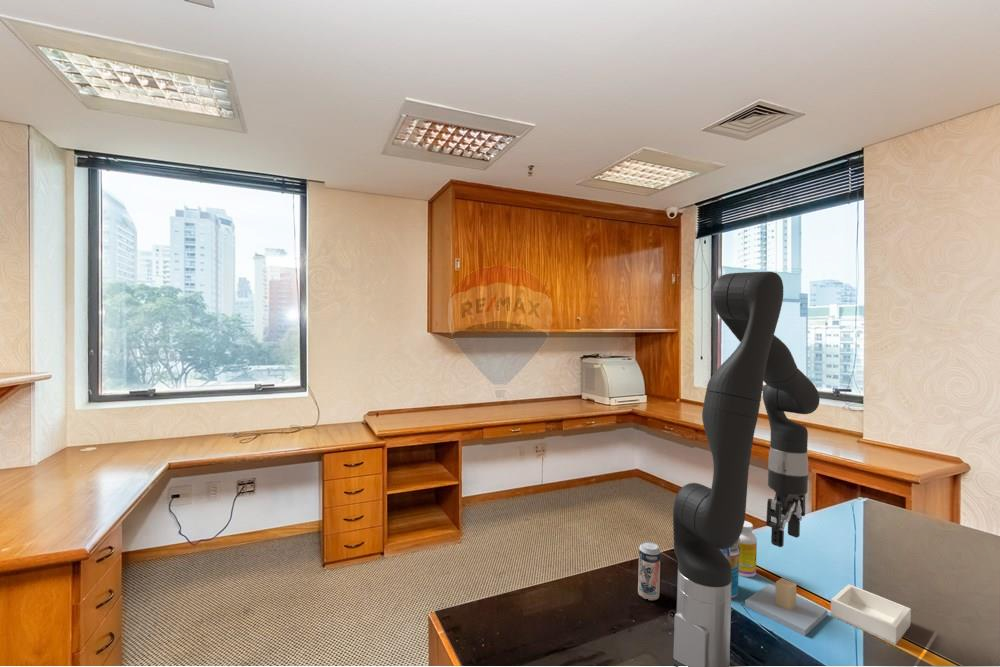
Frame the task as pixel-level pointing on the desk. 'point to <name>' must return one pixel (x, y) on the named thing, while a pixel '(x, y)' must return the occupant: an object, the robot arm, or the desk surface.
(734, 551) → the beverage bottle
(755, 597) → the lid
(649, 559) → the beer can
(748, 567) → the supplement bottle
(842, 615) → the white rectangular open box
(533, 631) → the desk surface
